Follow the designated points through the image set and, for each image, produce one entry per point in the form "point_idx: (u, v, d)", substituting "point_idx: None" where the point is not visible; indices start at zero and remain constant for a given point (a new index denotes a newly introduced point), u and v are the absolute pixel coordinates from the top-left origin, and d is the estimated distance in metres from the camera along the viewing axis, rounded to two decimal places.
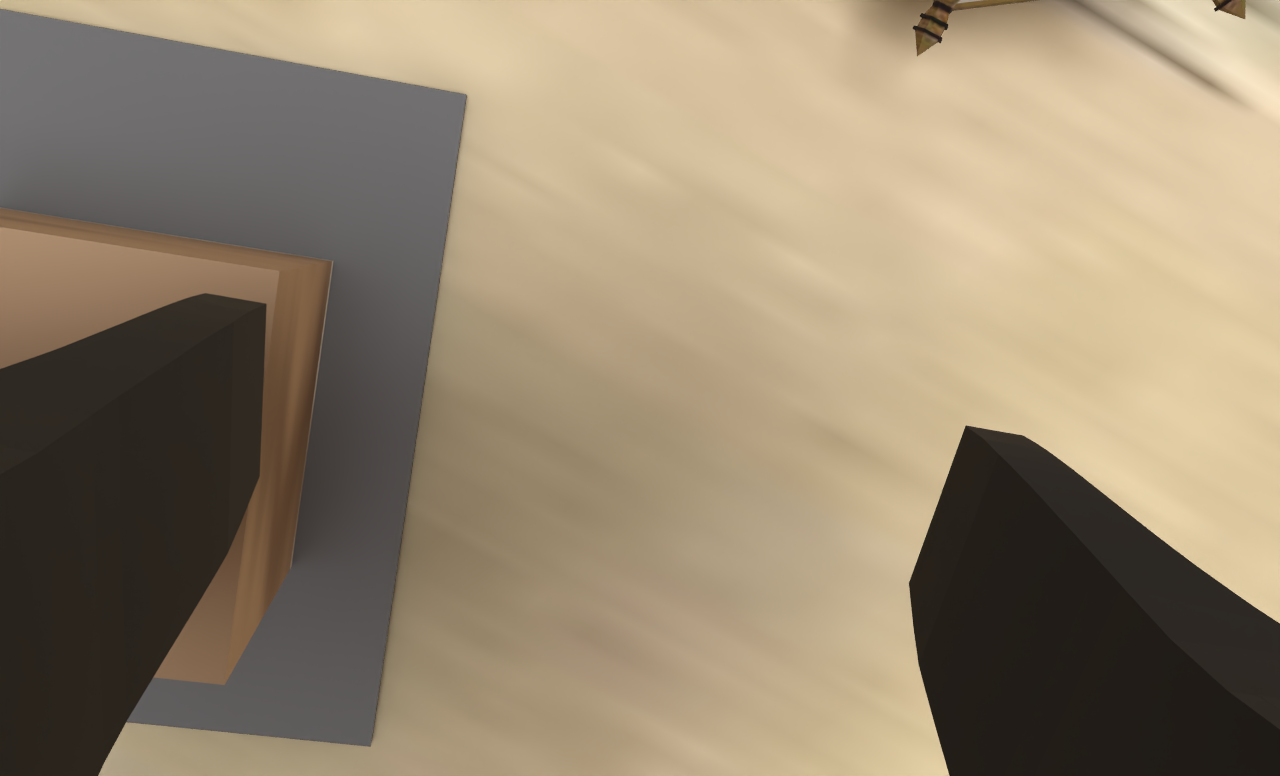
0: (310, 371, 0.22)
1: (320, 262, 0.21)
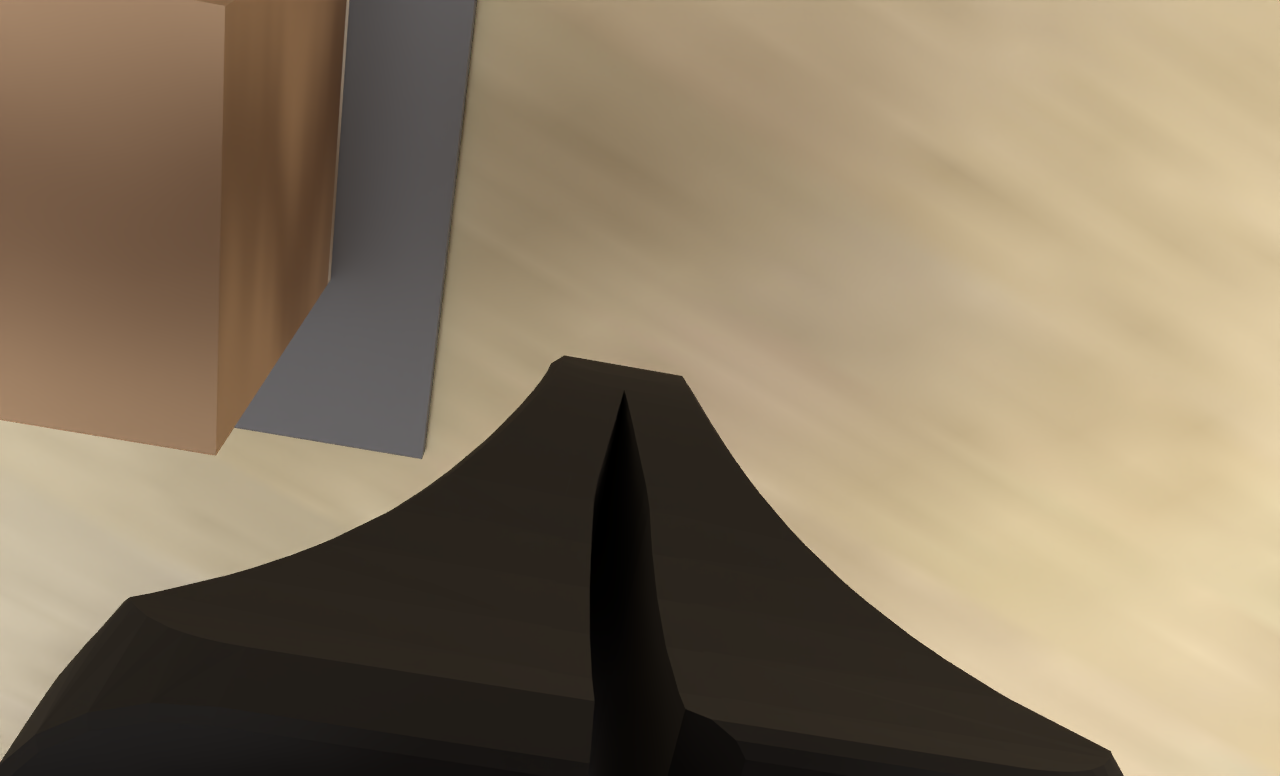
0: (326, 77, 0.19)
1: None
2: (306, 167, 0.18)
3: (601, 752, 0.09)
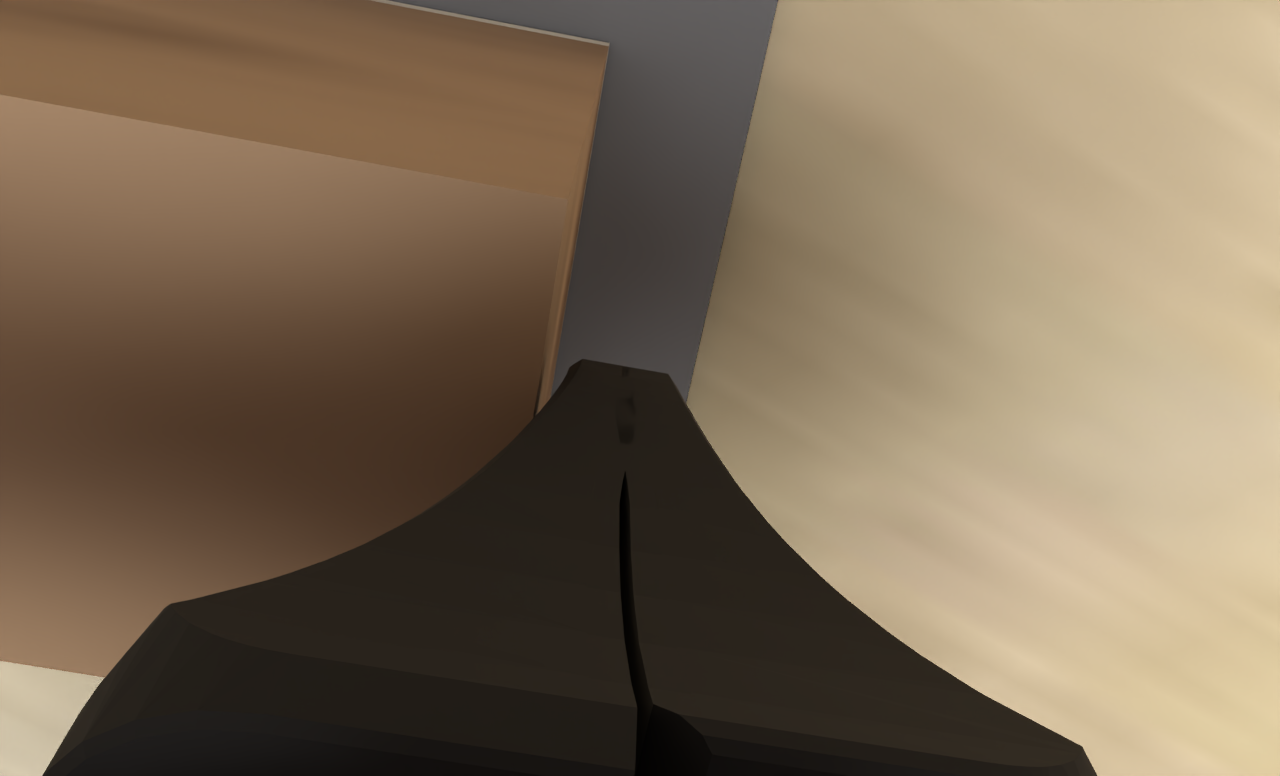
0: (578, 221, 0.15)
1: (598, 69, 0.14)
2: (557, 335, 0.15)
3: None
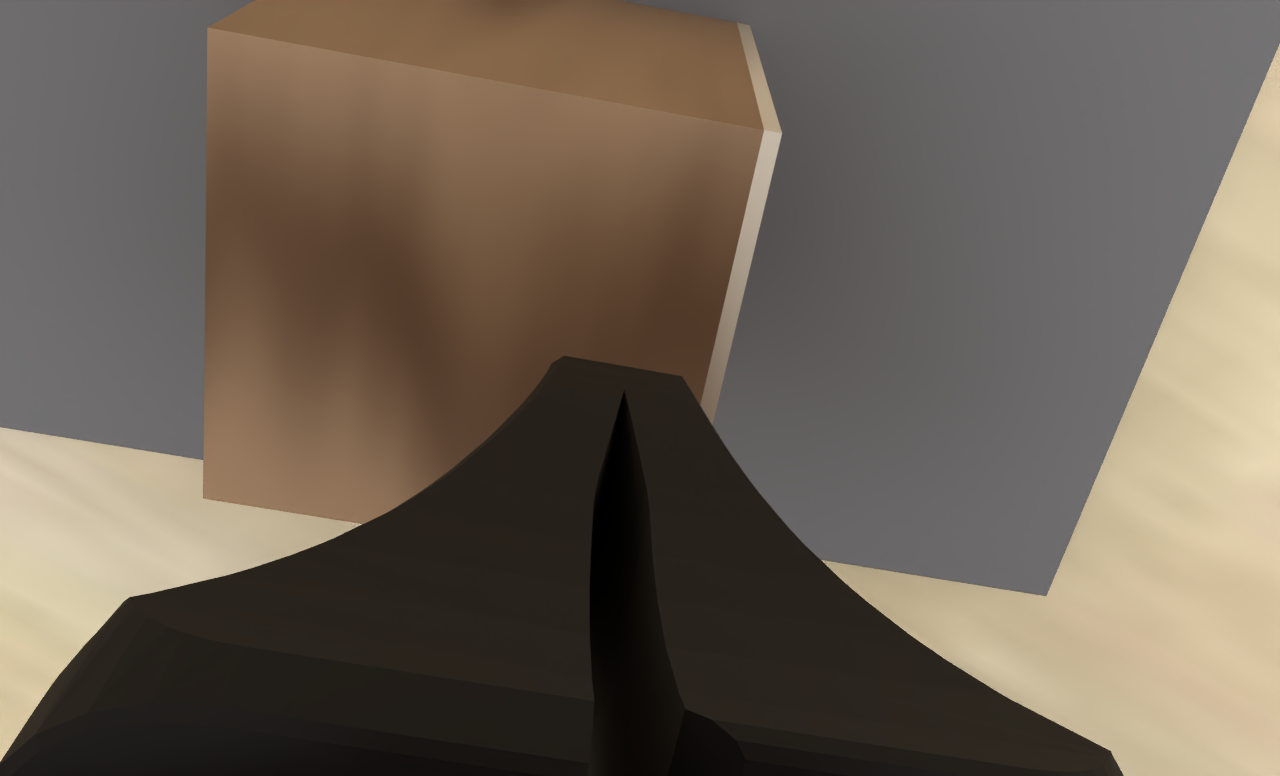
0: (637, 280, 0.14)
1: (643, 106, 0.13)
2: (543, 357, 0.14)
3: (601, 752, 0.09)
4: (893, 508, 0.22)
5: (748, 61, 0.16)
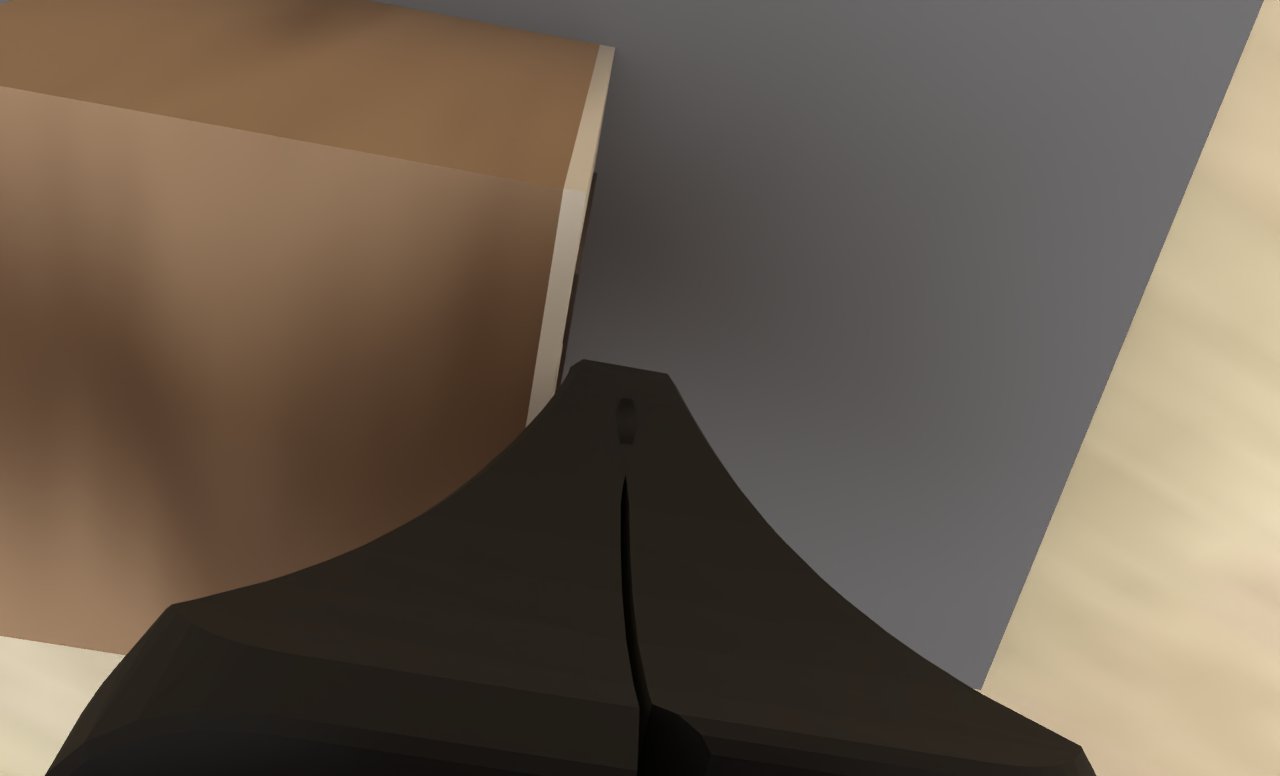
0: (420, 370, 0.11)
1: (410, 159, 0.10)
2: (313, 461, 0.12)
3: None
4: None
5: (589, 94, 0.13)
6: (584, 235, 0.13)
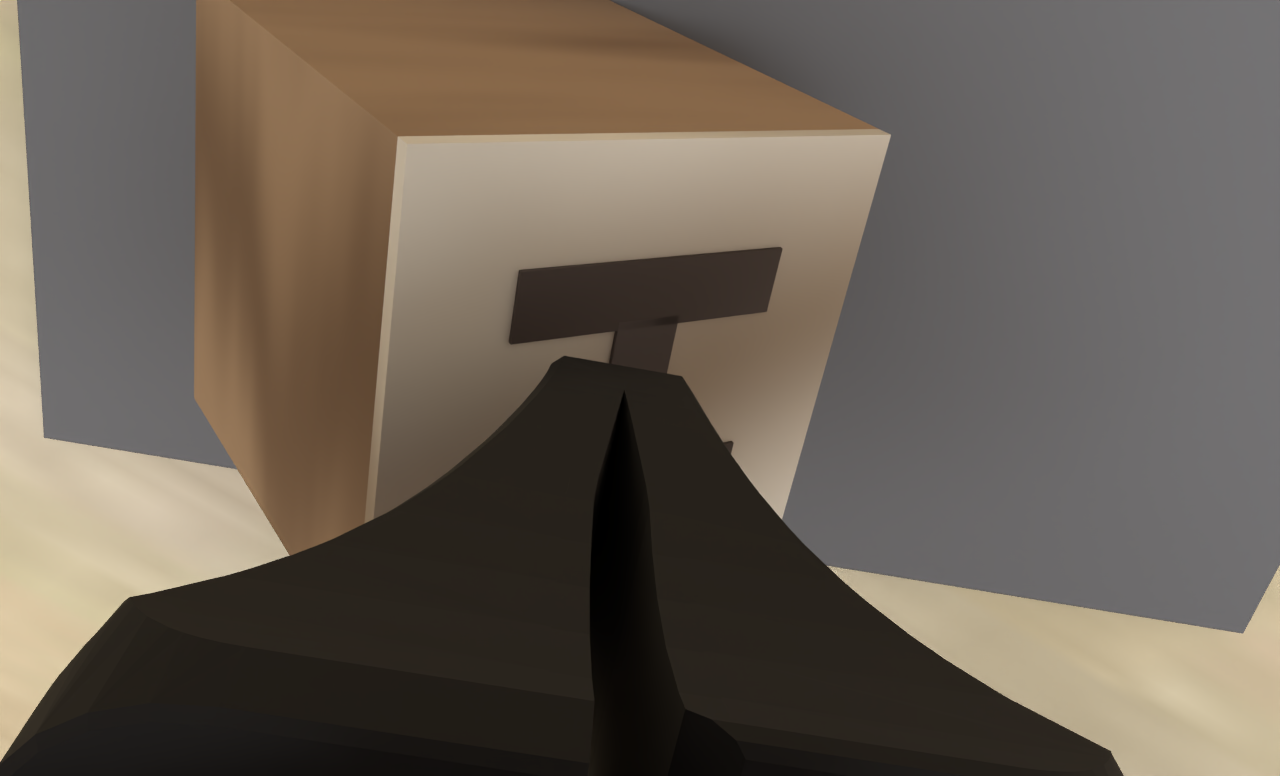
0: (339, 291, 0.12)
1: (345, 89, 0.11)
2: (301, 352, 0.13)
3: (601, 752, 0.09)
4: (1098, 547, 0.22)
5: (699, 131, 0.12)
6: (615, 262, 0.12)
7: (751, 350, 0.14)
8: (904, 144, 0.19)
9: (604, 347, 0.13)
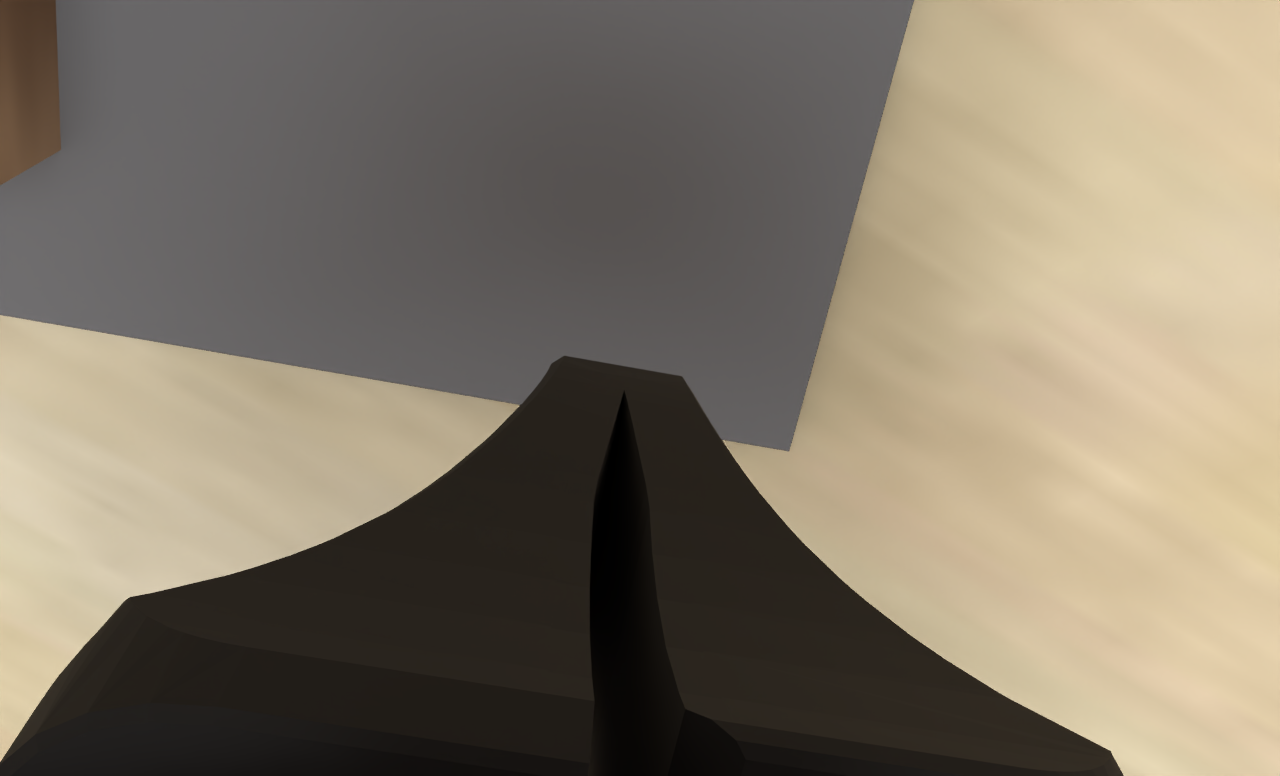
0: None
1: None
2: None
3: (601, 752, 0.09)
4: (631, 359, 0.23)
5: None
6: None
7: None
8: None
9: None
